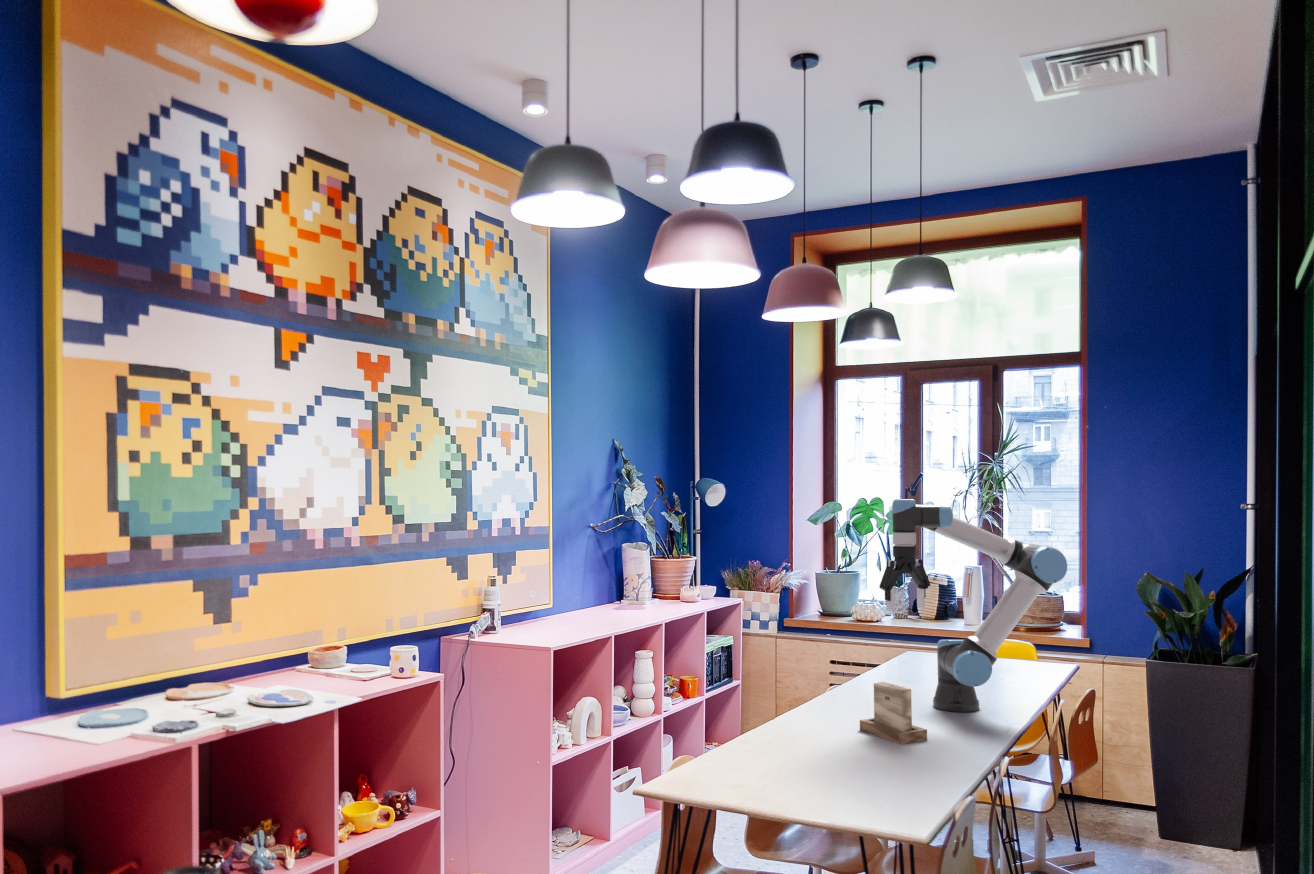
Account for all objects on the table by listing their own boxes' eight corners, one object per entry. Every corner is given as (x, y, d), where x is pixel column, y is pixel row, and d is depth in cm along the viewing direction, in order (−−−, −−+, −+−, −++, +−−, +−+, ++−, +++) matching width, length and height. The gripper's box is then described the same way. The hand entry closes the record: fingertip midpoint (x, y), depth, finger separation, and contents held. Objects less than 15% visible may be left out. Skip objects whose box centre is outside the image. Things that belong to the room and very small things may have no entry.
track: (884, 726, 288) (884, 716, 288) (927, 739, 271) (927, 729, 272) (859, 729, 283) (859, 720, 283) (901, 744, 267) (901, 733, 267)
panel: (884, 727, 283) (883, 681, 284) (912, 736, 273) (911, 688, 274) (874, 729, 282) (873, 683, 282) (901, 738, 271) (900, 690, 272)
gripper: (924, 543, 314) (925, 606, 312) (867, 545, 302) (869, 610, 301) (940, 544, 307) (941, 608, 306) (883, 546, 296) (884, 612, 294)
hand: (905, 609), depth 303 cm, fingers open, 13 cm apart
